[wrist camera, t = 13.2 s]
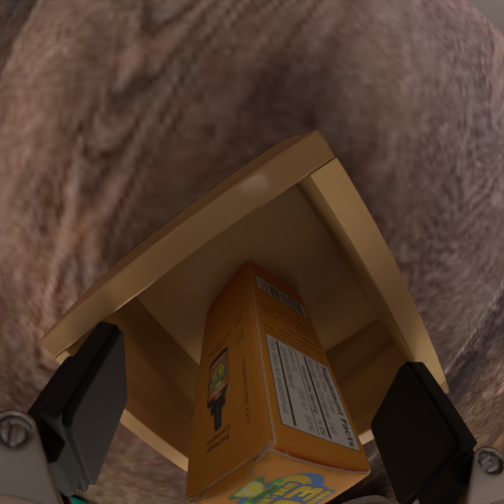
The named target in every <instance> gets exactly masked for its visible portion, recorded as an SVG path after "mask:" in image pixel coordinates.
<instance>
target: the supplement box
mask: <svg viewBox="0 0 504 504" xmlns="http://www.w3.org/2000/svg"><path fill="white" fill-rule="evenodd" d="M370 473H371V469H370V465H369V462H368V460H367V457H366V454H365V452H364V449H363V447H362V444H361V441H360V438H359V436H358V433H357V431H356V428H355V426H354V423H353V421H352V419H351V416H350V414H349V411H348V409H347V406H346V404H345V401H344V399H343V396H342V394H341V391H340V389H339V386H338V384H337V381H336V379H335V377H334V374H333V372H332V369H331V367H330V365H329V362H328V360H327V357H326V354H325V352H324V350H323V347H322V345H321V342H320V340H319V338H318V335H317V333H316V331H315V329H314V326H313V324H312V322H311V320H310V317H309V315H308V313H307V311H306V308H305V306H304V304H303V301H302V299H301V297H300V295H299V294H297V293H296V292H294V291H293V290H291V289H290V288H289V287H287V286H286V285H284V284H283V283H282V282H280V281H279V280H277V279H276V278H274V277H273V276H272V275H270V274H269V273H267V272H266V271H264V270H263V269H261V268H260V267H259V266H257V265H256V264H254V263H253V262H251V261H246V262H245V263H244V264H243V265H242V266H241V268H240V269H239V270H238V271H237V273H236V274H235V275H234V276H233V278H232V279H231V280H230V282H229V283H228V284H227V285H226V287H225V288H224V289H223V291H222V292H221V293H220V295H219V296H218V297H217V299H216V300H215V301H214V303H213V304H212V305H211V307H210V308H209V310H208V313H207V318H206V324H205V330H204V337H203V344H202V352H201V359H200V366H199V373H198V380H197V388H196V396H195V404H194V414H193V422H192V432H191V441H190V450H189V461H188V471H187V487H186V500H187V502H188V503H190V504H325V503H326V502H328V501H330V500H331V499H333V498H335V497H336V496H338V495H339V494H341V493H342V492H344V491H345V490H347V489H349V488H350V487H352V486H353V485H355V484H356V483H358V482H359V481H361V480H362V479H363V478H365V477H366V476H368V475H369V474H370Z"/></svg>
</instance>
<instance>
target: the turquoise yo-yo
mask: <svg viewBox="0 0 504 504" xmlns="http://www.w3.org/2000/svg"><path fill="white" fill-rule="evenodd" d="M70 498H71V500H72V503H73V504H87V503H86V502H84V501H82V500H80V499H77V498H75V497H71V496H70Z"/></svg>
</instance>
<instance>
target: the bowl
mask: <svg viewBox="0 0 504 504" xmlns="http://www.w3.org/2000/svg"><path fill="white" fill-rule="evenodd" d="M342 504H400V503H398V502H387V499H386V498H385V497H383V496H379V495H370V496H363V497H359V498H355V499H352V500H349V501H346V502H344V503H342Z"/></svg>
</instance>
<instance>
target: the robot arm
mask: <svg viewBox="0 0 504 504" xmlns="http://www.w3.org/2000/svg"><path fill="white" fill-rule="evenodd" d="M127 397H128V393H127V380H126V363H125V340H124V332H123V331H120V330H119V327H118V325H115V324H111V323H107V322H103V321H100V322H99V323H98V324H97V325H96V326H95V328H94V329H93V330H92V332H91V333H90V334H89V336H88V337H87V338H86V340H85V341H84V342H83V344H82V345H81V347H80V348H79V349H78V351H77V352H76V353H75V355H74V356H68V357H67V358H66V359H65V360H64V361H63V363H62V364H61V365H60V367H59V368H58V370H57V371H56V372H55V374H54V375H53V376H52V378H51V379H50V381H49V382H48V384H47V385H46V386H45V388H44V389H43V391H42V392H41V394H40V395H39V396H38V398H37V399H36V401H35V402H34V404H33V405H32V407H31V408H30V410H29V411H28V413H25V412H24V411H20V410H17V409H8V410H4V411H1V412H0V504H73V503H72V500H71V498H70V496H71V495H74V492H75V490H76V489H79V490H82V491H85V492H87V489H88V486H89V484H90V485H95V483H96V481H97V478H98V476H99V473H100V470H101V468H102V465H103V462H104V460H105V457H106V454H107V452H108V449H109V446H110V444H111V441H112V439H113V436H114V434H115V431H116V428H117V426H118V423H119V421H120V418H121V416H122V413H123V411H124V409H125V406H126V403H127ZM371 431H372V434H373V436H374V439H375V442H376V444H377V447H378V449H379V452H380V455H381V458H382V460H383V463H384V466H385V468H386V471H387V474H388V477H389V479H390V482H391V485H392V488H393V491H394V493H395V496H396V499H397V501H398V503H400V504H504V456H503V455H502V453H501V452H499V451H498V450H497V449H495V448H493V447H489V446H483V447H480V448H478V449H477V450H476V451H475V452H474V451H473V448H474V446H475V445H476V444H477V441H476V440H475V438H474V437H473V435H472V433H471V432H470V430H469V429H468V427H467V426H466V424H465V423H464V421H463V419H462V418H461V416H460V415H459V413H458V412H457V410H456V409H455V407H454V406H453V404H452V403H451V401H450V400H449V398H448V397H447V395H446V394H445V393H444V391H443V390H442V388H441V387H440V385H439V384H438V382H437V381H436V380H435V378H434V377H433V375H432V374H431V372H430V371H429V370H428V368H427V367H426V365H425V364H424V363H423V362H411V361H408V362H406V363H405V364H404V365H403V366H401V367H400V368H399V370H398V372H397V374H396V376H395V378H394V380H393V382H392V384H391V386H390V388H389V390H388V392H387V394H386V396H385V398H384V400H383V401H382V403H381V405H380V407H379V409H378V410H377V412H376V414H375V416H374V418H373V419H372V421H371Z"/></svg>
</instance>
